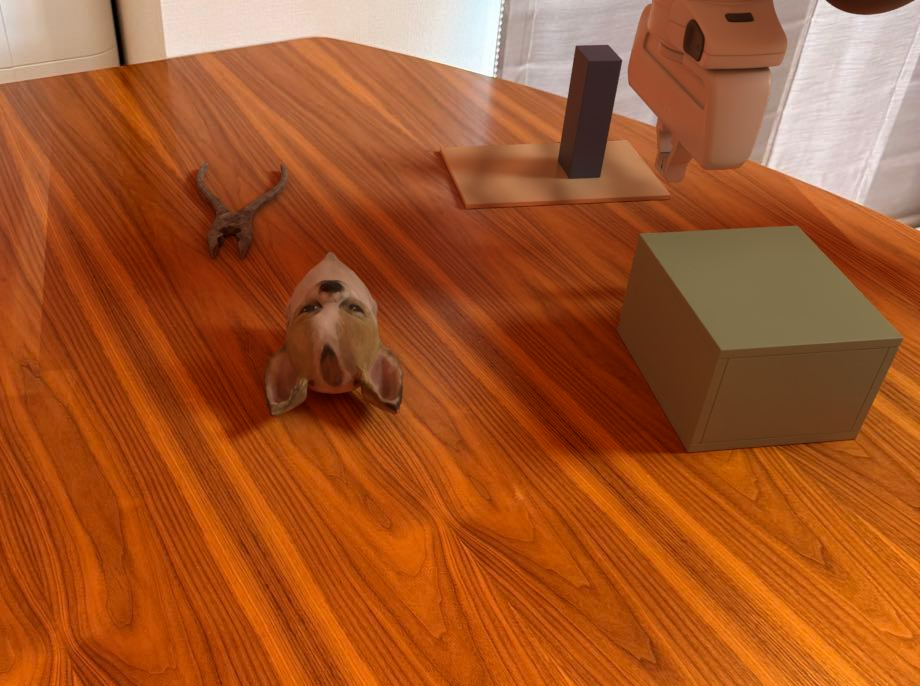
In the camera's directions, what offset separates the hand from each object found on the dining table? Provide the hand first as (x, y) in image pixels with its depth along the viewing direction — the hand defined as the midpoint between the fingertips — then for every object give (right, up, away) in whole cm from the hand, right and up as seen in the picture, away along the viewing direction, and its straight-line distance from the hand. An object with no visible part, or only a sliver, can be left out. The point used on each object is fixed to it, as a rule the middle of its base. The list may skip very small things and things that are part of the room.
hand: (668, 175), depth 88 cm
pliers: (-39, 0, +10) cm, 41 cm away
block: (-5, +7, +17) cm, 19 cm away
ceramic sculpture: (-30, -20, -10) cm, 38 cm away
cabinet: (+2, -20, -9) cm, 22 cm away
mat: (-8, +7, +18) cm, 20 cm away
